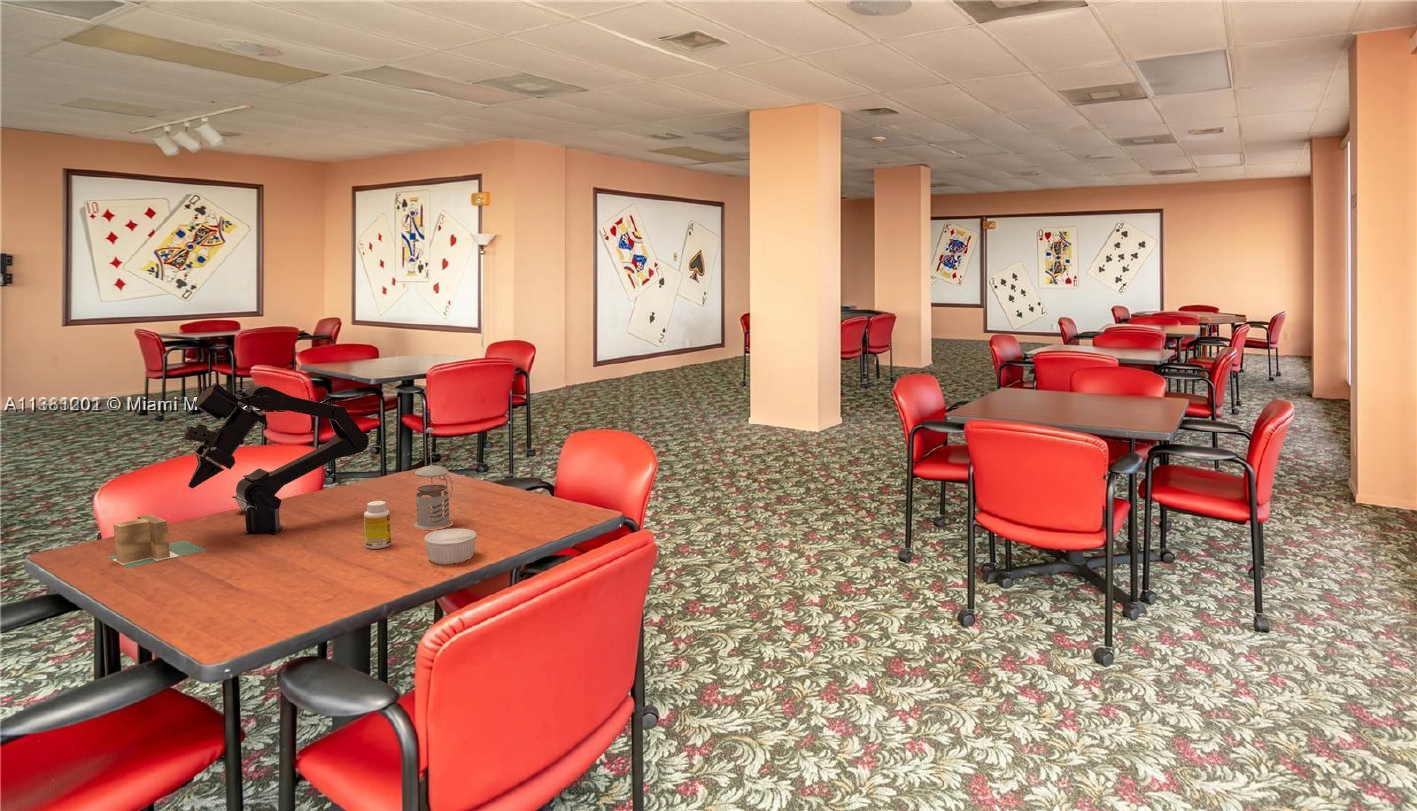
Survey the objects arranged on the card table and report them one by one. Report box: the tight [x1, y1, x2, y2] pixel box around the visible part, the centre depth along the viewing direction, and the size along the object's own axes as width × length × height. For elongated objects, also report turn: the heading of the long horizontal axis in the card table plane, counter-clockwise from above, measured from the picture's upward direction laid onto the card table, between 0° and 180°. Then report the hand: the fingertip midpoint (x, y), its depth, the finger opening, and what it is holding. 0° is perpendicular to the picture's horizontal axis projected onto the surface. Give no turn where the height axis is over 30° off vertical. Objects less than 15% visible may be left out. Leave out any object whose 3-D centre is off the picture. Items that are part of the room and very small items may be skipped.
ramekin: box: [423, 528, 478, 565], centre depth 185 cm, size 11×11×5 cm
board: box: [107, 539, 207, 569], centre depth 185 cm, size 16×12×1 cm
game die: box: [231, 494, 250, 515], centre depth 222 cm, size 9×8×10 cm
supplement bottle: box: [363, 500, 392, 550], centre depth 193 cm, size 6×6×10 cm
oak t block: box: [113, 514, 170, 563], centre depth 182 cm, size 8×9×8 cm
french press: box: [413, 427, 454, 529], centre depth 210 cm, size 10×12×25 cm
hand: (190, 487), depth 191 cm, fingers closed
